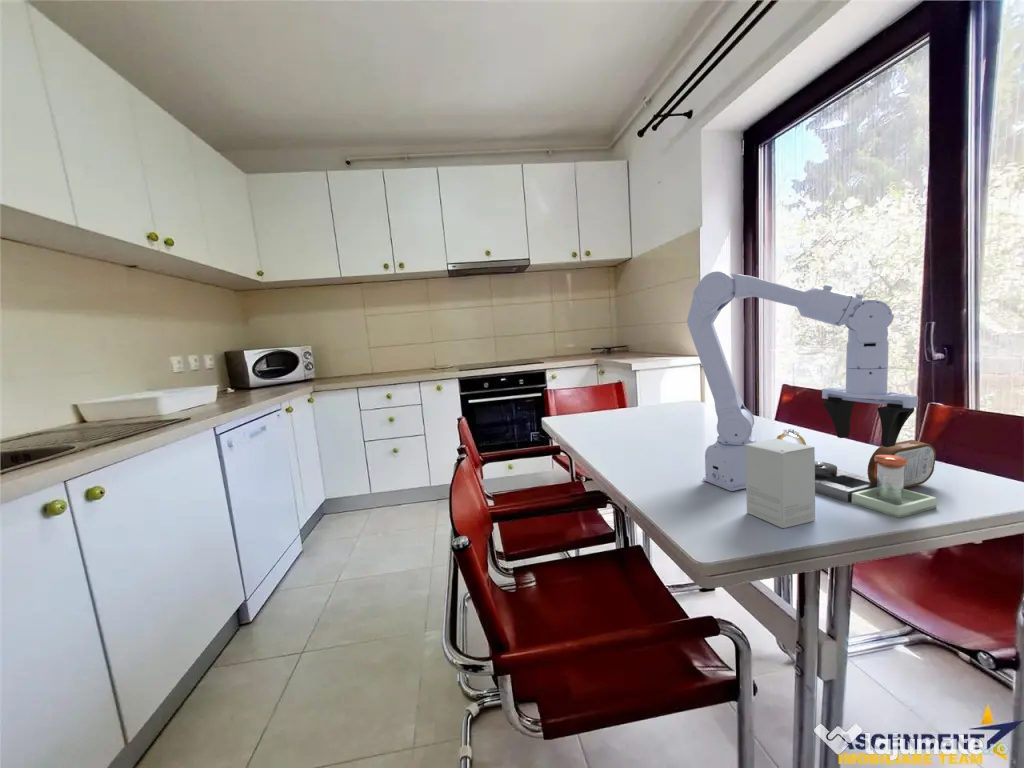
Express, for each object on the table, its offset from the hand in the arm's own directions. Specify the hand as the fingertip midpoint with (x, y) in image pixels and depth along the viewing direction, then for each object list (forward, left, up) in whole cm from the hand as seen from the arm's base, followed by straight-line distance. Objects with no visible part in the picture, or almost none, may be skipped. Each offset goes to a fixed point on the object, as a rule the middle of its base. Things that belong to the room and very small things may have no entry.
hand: (864, 441), depth 76 cm
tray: (0, -5, -10) cm, 11 cm away
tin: (+9, -1, -10) cm, 13 cm away
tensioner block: (0, +5, -10) cm, 11 cm away
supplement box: (-20, 0, -11) cm, 23 cm away
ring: (+7, +20, -11) cm, 23 cm away
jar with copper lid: (0, -4, -10) cm, 11 cm away
